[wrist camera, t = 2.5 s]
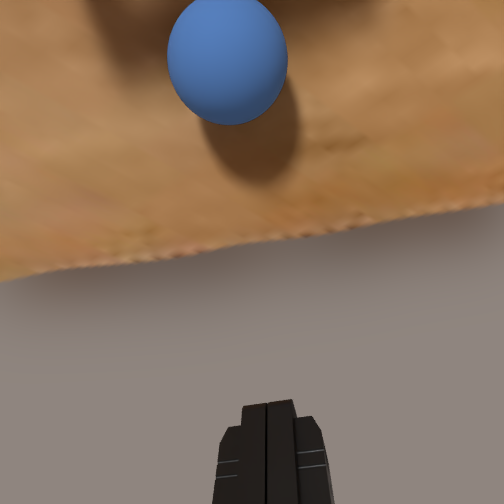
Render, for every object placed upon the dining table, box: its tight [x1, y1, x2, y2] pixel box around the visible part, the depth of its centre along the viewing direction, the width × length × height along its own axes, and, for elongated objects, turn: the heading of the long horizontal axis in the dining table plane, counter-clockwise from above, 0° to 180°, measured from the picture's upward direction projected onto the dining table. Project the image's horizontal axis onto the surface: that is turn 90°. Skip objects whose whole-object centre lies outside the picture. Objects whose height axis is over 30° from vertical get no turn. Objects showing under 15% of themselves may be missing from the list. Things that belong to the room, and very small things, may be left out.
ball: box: [167, 0, 288, 125], centre depth 20 cm, size 6×6×6 cm
